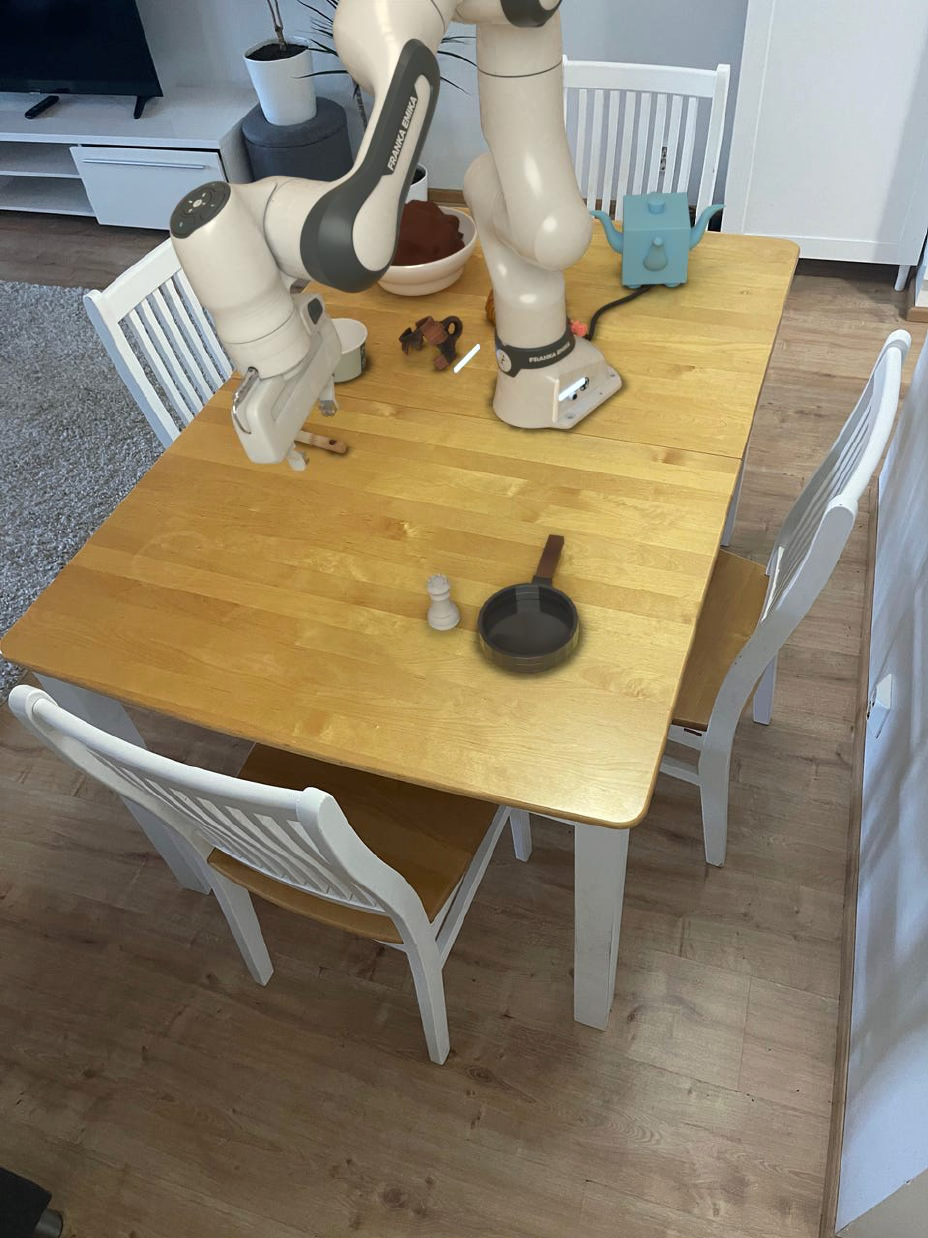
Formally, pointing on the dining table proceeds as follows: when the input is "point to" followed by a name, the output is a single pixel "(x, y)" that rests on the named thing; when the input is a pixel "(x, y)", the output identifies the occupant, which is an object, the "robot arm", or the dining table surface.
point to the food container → (350, 349)
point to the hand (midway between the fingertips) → (317, 439)
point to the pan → (528, 627)
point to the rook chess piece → (441, 604)
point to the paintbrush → (321, 441)
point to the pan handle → (549, 560)
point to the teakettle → (655, 237)
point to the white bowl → (430, 249)
